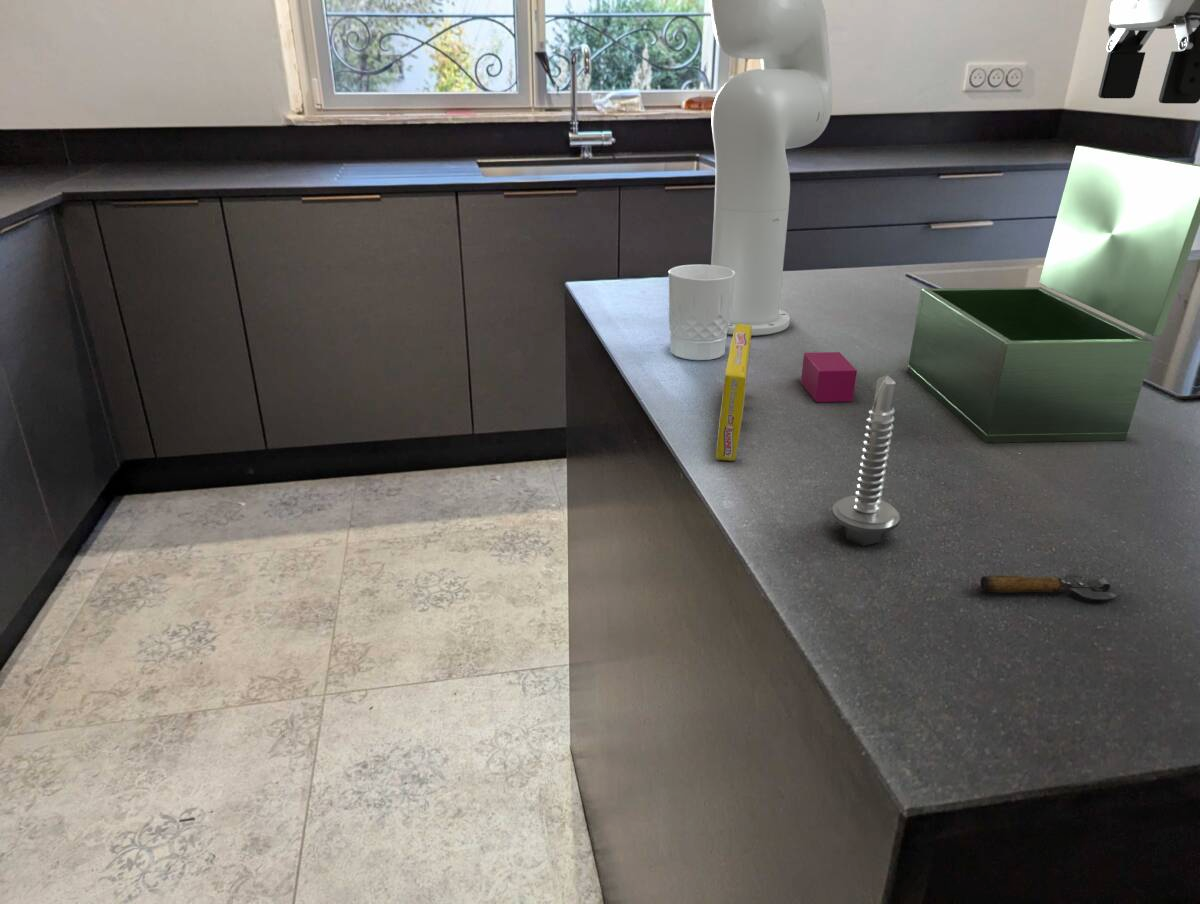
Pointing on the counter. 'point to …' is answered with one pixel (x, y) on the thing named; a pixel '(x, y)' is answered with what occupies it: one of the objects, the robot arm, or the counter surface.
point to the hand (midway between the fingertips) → (1144, 100)
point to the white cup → (700, 310)
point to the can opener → (1047, 585)
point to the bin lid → (1124, 234)
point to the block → (828, 377)
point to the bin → (1027, 364)
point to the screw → (872, 476)
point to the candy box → (734, 393)
